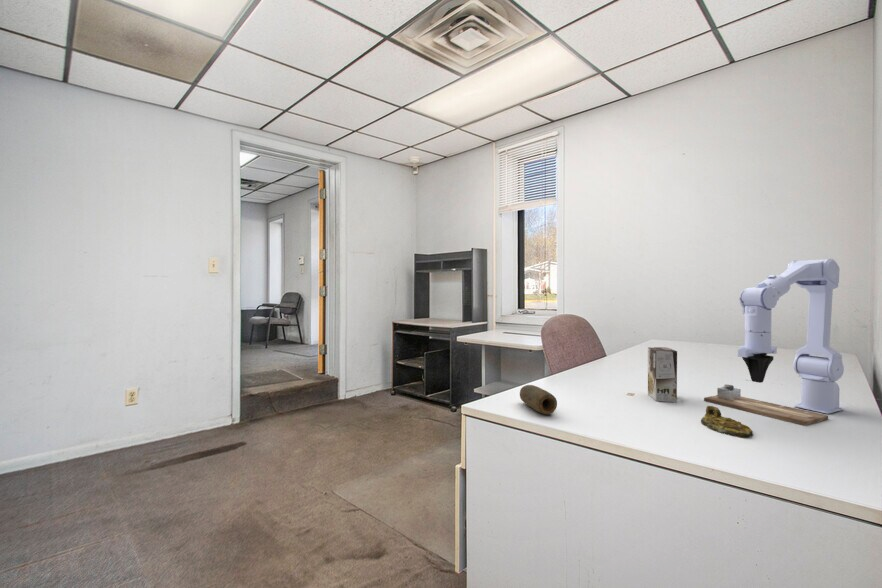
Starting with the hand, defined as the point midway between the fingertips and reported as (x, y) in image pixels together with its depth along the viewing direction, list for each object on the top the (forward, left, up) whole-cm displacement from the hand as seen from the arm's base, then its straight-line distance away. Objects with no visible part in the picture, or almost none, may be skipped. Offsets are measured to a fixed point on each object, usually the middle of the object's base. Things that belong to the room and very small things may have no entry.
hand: (757, 381), depth 111 cm
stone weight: (+47, -34, -11) cm, 59 cm away
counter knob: (-12, -14, -9) cm, 21 cm away
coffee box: (+3, -26, -11) cm, 28 cm away
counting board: (-12, -5, -10) cm, 17 cm away
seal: (+14, 0, -11) cm, 18 cm away
